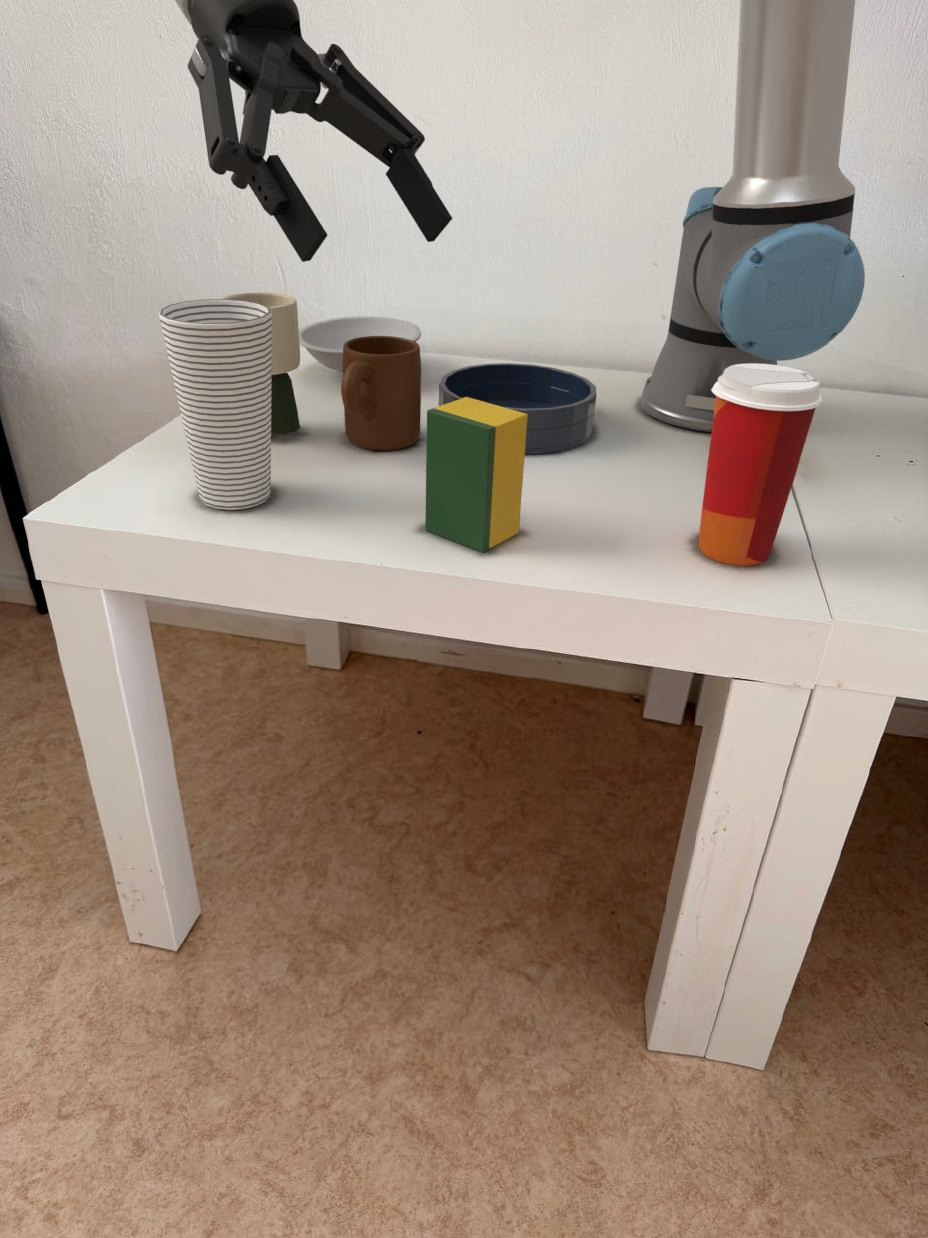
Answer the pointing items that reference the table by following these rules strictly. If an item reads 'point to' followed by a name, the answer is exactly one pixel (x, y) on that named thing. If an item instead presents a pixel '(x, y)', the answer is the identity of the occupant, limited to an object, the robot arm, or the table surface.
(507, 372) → the bowl
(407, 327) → the dish
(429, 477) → the sponge
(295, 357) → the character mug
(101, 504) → the table surface
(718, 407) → the paper cup
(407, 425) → the mug
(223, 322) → the cup
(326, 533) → the table surface
